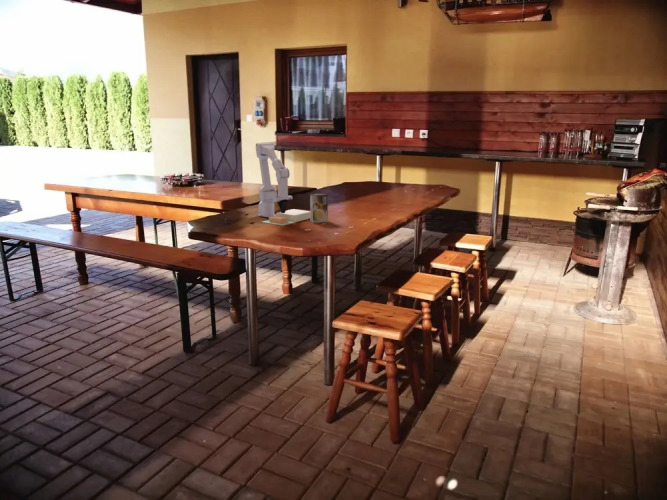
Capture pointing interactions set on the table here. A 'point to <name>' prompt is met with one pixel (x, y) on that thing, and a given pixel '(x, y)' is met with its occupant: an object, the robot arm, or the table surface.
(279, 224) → the green mat
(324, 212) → the coffee box
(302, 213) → the white panel
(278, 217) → the terracotta tile
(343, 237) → the table surface
